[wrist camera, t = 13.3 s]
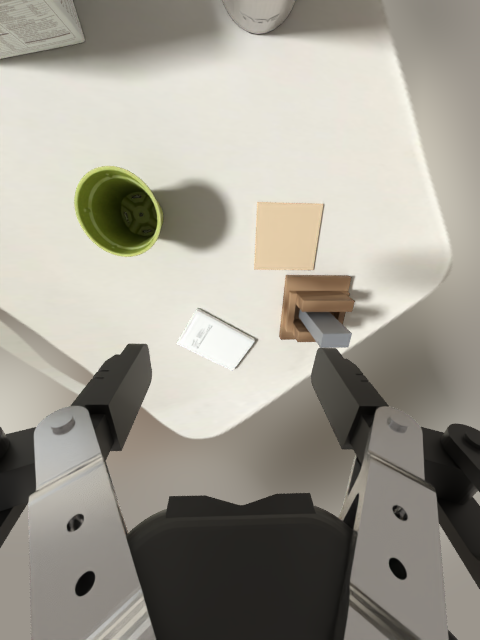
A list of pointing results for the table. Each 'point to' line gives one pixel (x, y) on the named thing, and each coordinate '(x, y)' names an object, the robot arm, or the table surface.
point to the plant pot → (117, 211)
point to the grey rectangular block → (326, 329)
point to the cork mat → (286, 235)
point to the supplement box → (37, 26)
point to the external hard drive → (215, 340)
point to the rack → (312, 302)
